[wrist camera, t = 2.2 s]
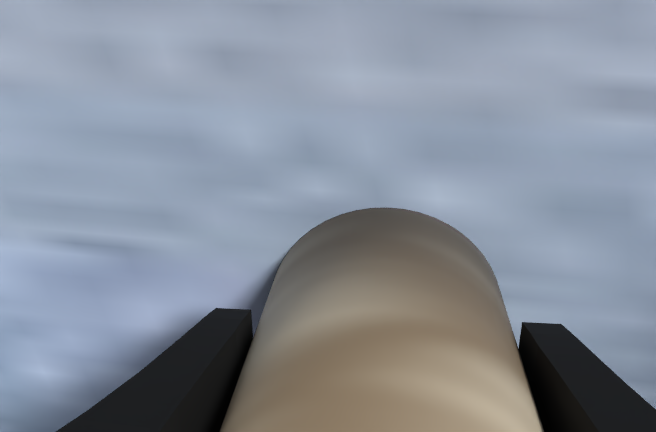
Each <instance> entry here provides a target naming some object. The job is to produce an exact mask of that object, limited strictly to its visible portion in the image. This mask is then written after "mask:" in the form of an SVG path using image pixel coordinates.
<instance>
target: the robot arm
mask: <svg viewBox="0 0 656 432" xmlns="http://www.w3.org/2000/svg"><path fill="white" fill-rule="evenodd" d="M252 340H253V333H252V318H251V310H243V309H222V308H216V309H214V310H213V311H212V312H210V313H209V314H208V315H207V316H206V317H204V318H203V319H202V320H201V321H200V322H198V323H197V324H196V325H195V326H194V327H193V328H191V329H190V330H189V331H188V332H187V333H186V334H185V335H183V336H182V337H181V338H180V339H179V340H177V341H176V342H175V343H174V344H173V345H172V346H170V347H169V348H168V349H167V350H166V351H164V352H163V353H162V354H161V355H159V356H158V357H157V358H156V359H155V360H153V361H152V362H151V363H150V364H148V365H147V366H146V367H145V368H144V369H142V370H141V371H140V372H139V373H137V374H136V375H135V376H133V377H132V378H131V379H129V380H128V381H127V382H125V383H124V384H123V385H121V386H120V387H119V388H117V389H116V390H115V391H113V392H112V393H110V394H109V395H108V396H106V397H105V398H104V399H102V400H101V401H100V402H98V403H97V404H96V405H94V406H93V407H92V408H90V409H89V410H88V411H86V412H85V413H83V414H82V415H80V416H79V417H77V418H76V419H74V420H73V421H71V422H70V423H68V424H67V425H65V426H64V427H62V428H61V429H59V430H58V431H56V432H220V429H221V426H222V424H223V421H224V418H225V415H226V412H227V410H228V407H229V404H230V401H231V398H232V396H233V393H234V390H235V387H236V385H237V382H238V379H239V376H240V373H241V371H242V368H243V365H244V362H245V359H246V357H247V354H248V351H249V348H250V346H251V343H252ZM518 350H519V353H520V356H521V359H522V362H523V366H524V369H525V372H526V375H527V378H528V382H529V385H530V388H531V391H532V394H533V397H534V401H535V404H536V407H537V410H538V413H539V417H540V420H541V423H542V426H543V429H544V432H656V409H655V408H653V407H652V406H651V405H650V404H649V403H648V402H646V401H645V400H644V399H643V398H642V397H641V396H640V395H638V394H637V393H636V392H635V391H634V390H633V389H632V388H631V387H629V386H628V385H627V384H626V383H625V382H624V381H623V380H622V379H621V378H619V377H618V376H617V375H616V374H615V373H614V372H613V371H612V370H611V369H610V368H609V367H607V366H606V365H605V364H604V363H603V362H602V361H601V360H600V359H599V358H598V357H597V356H596V355H595V354H593V353H592V352H591V351H590V350H589V349H588V348H587V347H586V346H585V345H584V344H583V343H582V342H581V341H580V340H578V339H577V338H576V337H575V336H574V335H573V334H572V333H571V332H570V331H569V330H567V329H566V328H565V327H564V326H563V325H562V324H548V323H526V322H522V328H521V335H520V342H519V349H518Z"/></svg>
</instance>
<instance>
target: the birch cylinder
mask: <svg viewBox="0 0 656 432" xmlns="http://www.w3.org/2000/svg"><path fill="white" fill-rule="evenodd" d="M220 432H544V429H543V426H542V423H541V420H540V417H539V413H538V410H537V407H536V404H535V401H534V397H533V394H532V391H531V388H530V385H529V382H528V378H527V375H526V372H525V369H524V366H523V362H522V359H521V356H520V353H519V350H518V346H517V343H516V340H515V337H514V334H513V331H512V327H511V324H510V321H509V318H508V315H507V311H506V308H505V305H504V302H503V299H502V296H501V292H500V289H499V286H498V283H497V280H496V277H495V275H494V273H493V271H492V268H491V266H490V265H489V263H488V262H487V260H486V258H485V257H484V255H483V254H482V253H481V252H480V251H479V249H478V248H477V247H476V246H475V245H474V244H473V243H472V242H471V241H470V240H469V239H468V238H467V237H465V236H464V235H463V234H462V233H461V232H459V231H458V230H456V229H455V228H453V227H452V226H450V225H448V224H446V223H444V222H442V221H440V220H438V219H436V218H434V217H431V216H428V215H425V214H422V213H419V212H415V211H410V210H405V209H397V208H369V209H362V210H356V211H352V212H348V213H345V214H341V215H339V216H336V217H334V218H331V219H329V220H327V221H325V222H323V223H321V224H320V225H318V226H316V227H315V228H313V229H312V230H310V231H309V232H308V233H306V234H305V235H304V236H303V237H301V238H300V239H299V240H298V241H297V243H296V244H295V245H294V246H293V247H292V248H291V249H290V250H289V252H288V253H287V255H286V256H285V257H284V259H283V261H282V263H281V265H280V267H279V268H278V270H277V273H276V276H275V279H274V281H273V284H272V287H271V290H270V293H269V295H268V298H267V301H266V304H265V307H264V309H263V312H262V315H261V318H260V320H259V323H258V326H257V329H256V332H255V334H254V337H253V340H252V343H251V346H250V348H249V351H248V354H247V357H246V359H245V362H244V365H243V368H242V371H241V373H240V376H239V379H238V382H237V385H236V387H235V390H234V393H233V396H232V398H231V401H230V404H229V407H228V410H227V412H226V415H225V418H224V421H223V424H222V426H221V429H220Z"/></svg>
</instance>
